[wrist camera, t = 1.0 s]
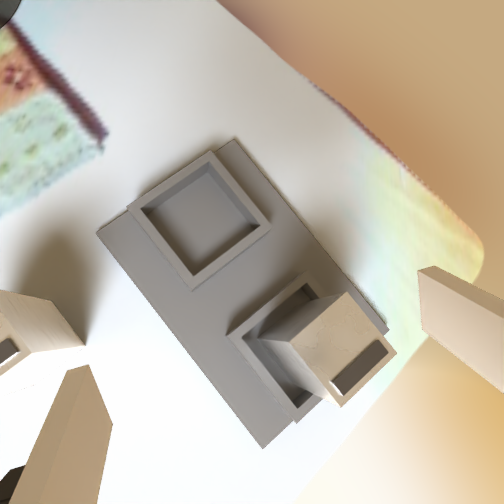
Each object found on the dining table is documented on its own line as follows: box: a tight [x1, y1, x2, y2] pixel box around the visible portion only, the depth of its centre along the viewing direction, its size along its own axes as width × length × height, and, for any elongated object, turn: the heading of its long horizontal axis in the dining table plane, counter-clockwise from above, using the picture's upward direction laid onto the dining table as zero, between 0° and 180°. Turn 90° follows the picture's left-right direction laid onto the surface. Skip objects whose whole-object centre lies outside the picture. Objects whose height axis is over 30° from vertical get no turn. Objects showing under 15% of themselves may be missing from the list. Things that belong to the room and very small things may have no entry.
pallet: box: [96, 139, 389, 449], centre depth 36 cm, size 24×16×4 cm, turn 39°
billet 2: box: [257, 292, 397, 407], centre depth 30 cm, size 5×5×12 cm
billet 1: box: [0, 290, 85, 396], centre depth 28 cm, size 5×5×12 cm
